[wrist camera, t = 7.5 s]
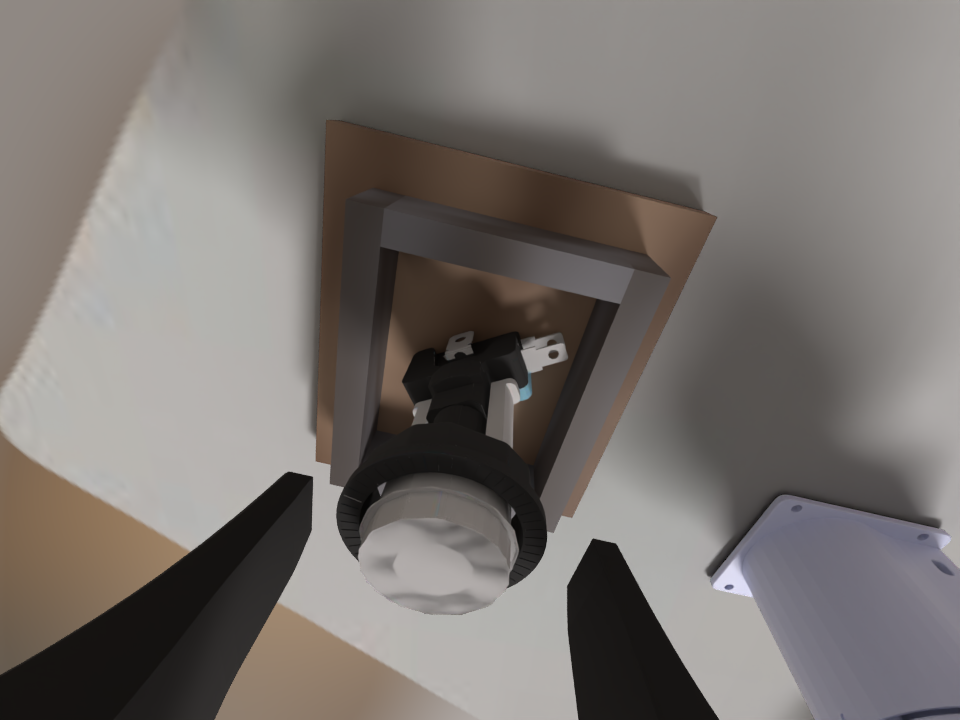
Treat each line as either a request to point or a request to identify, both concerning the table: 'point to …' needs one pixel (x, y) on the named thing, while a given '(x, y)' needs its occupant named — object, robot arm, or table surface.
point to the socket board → (488, 294)
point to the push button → (452, 482)
